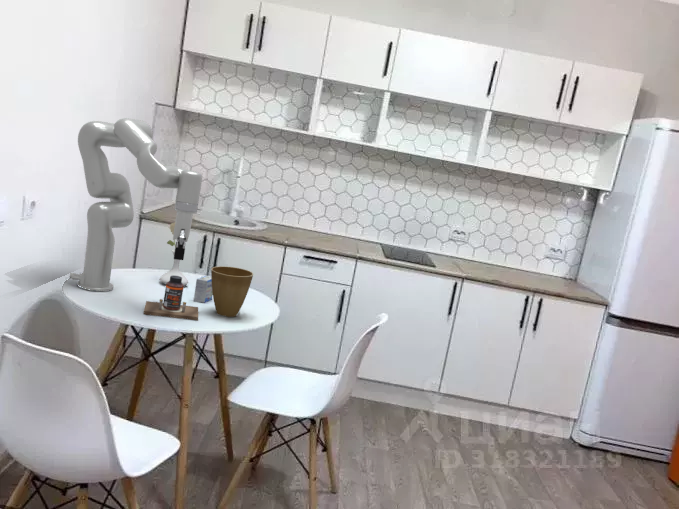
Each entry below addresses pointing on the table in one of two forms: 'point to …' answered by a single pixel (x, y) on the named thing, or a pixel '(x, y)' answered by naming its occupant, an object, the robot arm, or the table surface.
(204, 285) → the medicine box
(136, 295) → the table surface
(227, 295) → the plant pot
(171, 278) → the supplement bottle
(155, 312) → the pin board
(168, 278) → the flower in vase
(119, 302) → the table surface
